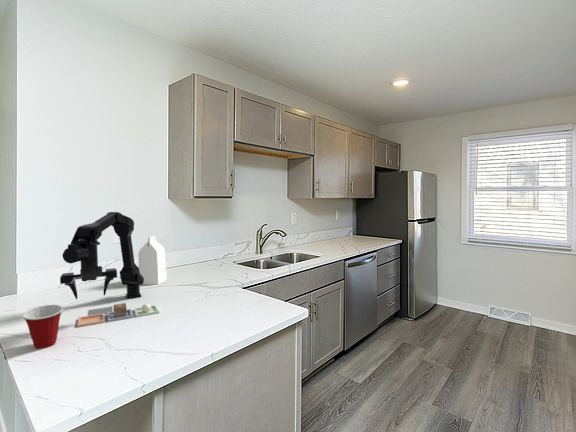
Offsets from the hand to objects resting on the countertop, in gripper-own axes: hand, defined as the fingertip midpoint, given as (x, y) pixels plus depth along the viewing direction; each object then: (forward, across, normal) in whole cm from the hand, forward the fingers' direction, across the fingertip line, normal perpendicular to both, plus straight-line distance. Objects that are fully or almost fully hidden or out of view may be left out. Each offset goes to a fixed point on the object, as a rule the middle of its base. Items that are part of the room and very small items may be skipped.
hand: (90, 297), depth 127 cm
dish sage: (+10, +20, 0) cm, 22 cm away
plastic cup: (+10, -13, -15) cm, 22 cm away
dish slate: (+10, +10, 0) cm, 14 cm away
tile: (+10, +3, +10) cm, 14 cm away
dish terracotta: (+10, 0, 0) cm, 10 cm away
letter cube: (+10, +10, 0) cm, 14 cm away
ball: (+10, +20, 0) cm, 22 cm away
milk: (+10, +29, +51) cm, 60 cm away
